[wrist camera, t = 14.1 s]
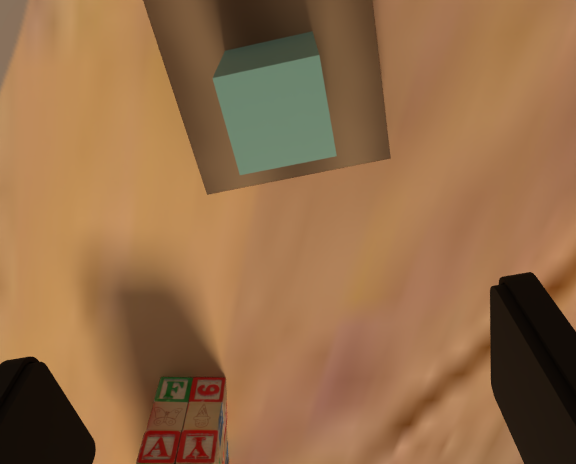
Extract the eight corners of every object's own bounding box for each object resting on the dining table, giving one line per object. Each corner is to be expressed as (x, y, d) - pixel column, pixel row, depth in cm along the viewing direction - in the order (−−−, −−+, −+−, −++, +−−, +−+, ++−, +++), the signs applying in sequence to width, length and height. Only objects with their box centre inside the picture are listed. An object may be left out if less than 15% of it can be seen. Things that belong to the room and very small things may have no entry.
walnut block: (356, -58, 29) (365, -56, 26) (380, 135, 35) (390, 158, 32) (158, -11, 30) (142, -2, 27) (214, 169, 37) (207, 194, 33)
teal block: (312, 31, 28) (319, 54, 23) (327, 117, 31) (336, 156, 25) (224, 50, 28) (212, 78, 23) (246, 134, 31) (239, 175, 26)
